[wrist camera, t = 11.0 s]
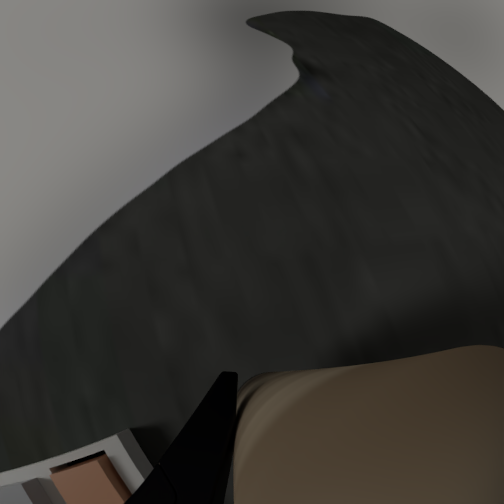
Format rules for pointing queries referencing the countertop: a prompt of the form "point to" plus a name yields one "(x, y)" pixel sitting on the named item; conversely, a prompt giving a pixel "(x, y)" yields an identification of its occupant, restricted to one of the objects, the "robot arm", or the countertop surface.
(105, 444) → the keypad
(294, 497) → the tan banded cylinder
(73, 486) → the terracotta key
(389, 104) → the countertop surface
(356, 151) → the countertop surface
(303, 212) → the countertop surface
